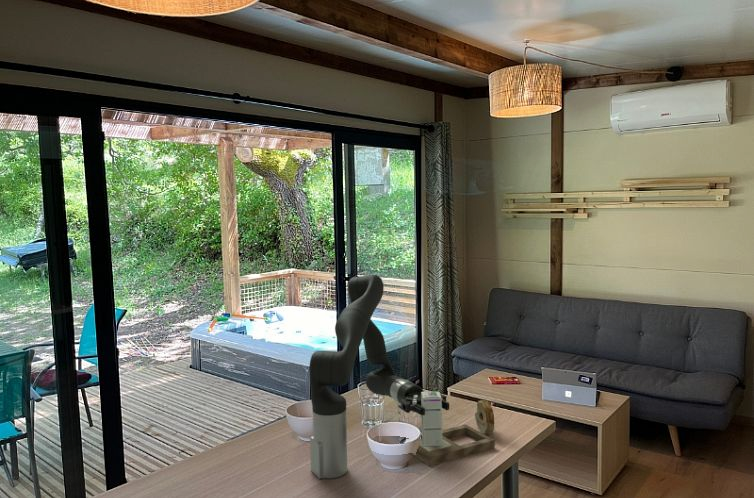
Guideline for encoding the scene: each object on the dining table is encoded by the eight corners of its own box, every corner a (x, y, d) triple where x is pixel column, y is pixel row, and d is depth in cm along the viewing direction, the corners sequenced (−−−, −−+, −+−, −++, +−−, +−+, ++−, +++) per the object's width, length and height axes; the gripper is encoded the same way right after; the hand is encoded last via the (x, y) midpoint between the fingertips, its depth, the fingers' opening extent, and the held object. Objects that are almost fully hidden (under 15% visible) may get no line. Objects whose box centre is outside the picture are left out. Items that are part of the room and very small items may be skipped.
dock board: (429, 466, 158) (428, 456, 157) (402, 447, 170) (402, 438, 170) (494, 448, 169) (494, 439, 169) (465, 432, 181) (465, 423, 181)
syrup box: (443, 446, 164) (442, 396, 163) (422, 446, 164) (422, 397, 163) (440, 438, 169) (440, 390, 168) (421, 438, 169) (420, 391, 168)
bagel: (496, 438, 176) (496, 406, 175) (485, 438, 176) (485, 407, 175) (485, 425, 186) (485, 395, 186) (474, 426, 186) (474, 396, 185)
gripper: (386, 385, 174) (415, 401, 160) (425, 378, 181) (456, 392, 167) (387, 409, 175) (415, 426, 161) (425, 401, 182) (456, 417, 168)
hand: (436, 409), depth 164 cm, fingers open, 8 cm apart
